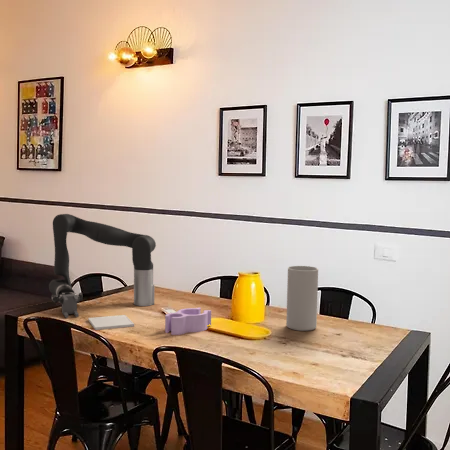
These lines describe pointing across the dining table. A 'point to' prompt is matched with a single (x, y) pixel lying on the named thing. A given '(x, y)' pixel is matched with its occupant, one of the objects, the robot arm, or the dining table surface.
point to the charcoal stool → (69, 305)
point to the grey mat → (110, 322)
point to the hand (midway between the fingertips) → (70, 301)
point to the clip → (187, 321)
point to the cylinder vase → (302, 298)
